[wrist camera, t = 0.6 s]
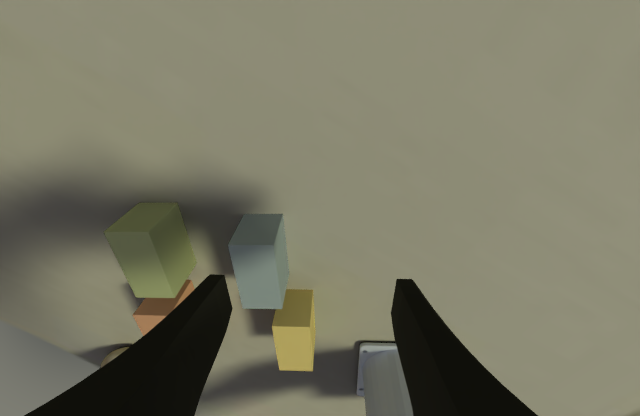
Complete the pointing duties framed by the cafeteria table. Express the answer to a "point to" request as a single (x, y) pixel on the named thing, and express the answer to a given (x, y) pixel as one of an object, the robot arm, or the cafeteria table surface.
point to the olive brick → (152, 249)
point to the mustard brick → (295, 331)
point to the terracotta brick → (159, 308)
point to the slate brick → (260, 260)
